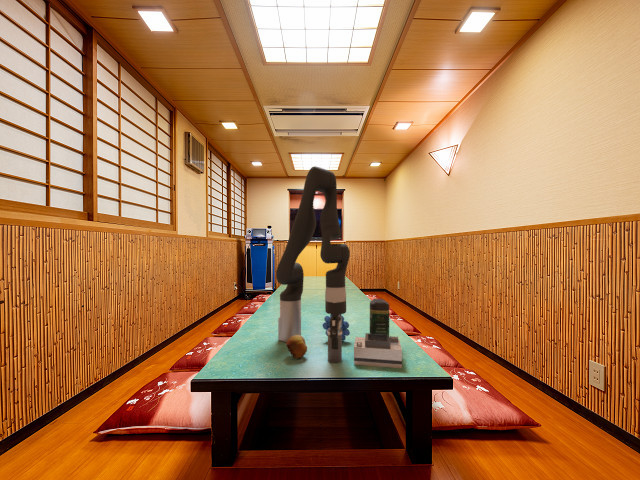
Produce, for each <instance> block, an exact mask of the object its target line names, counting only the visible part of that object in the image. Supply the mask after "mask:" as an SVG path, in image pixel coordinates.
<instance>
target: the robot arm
mask: <svg viewBox="0 0 640 480" xmlns="http://www.w3.org/2000/svg"><path fill="white" fill-rule="evenodd" d="M306 174H307V175H306V176H305V177H306V178H305V181H304V186H303V189H302V194H301V198H300V201H299V207H298V209H297V213H296V215H295V218H294V221H293V223H292V227H291V230H290V233H289V238H288V240H287V242H286V246H285V247H284V250H283V253H282V256H281V258H280V261H279V262H278V264H277V268H276V272H275V279H276V281H277V283H279V285H282V286H283V285H285V286H286V288H285V289H283V291H281V292H280V294H279V317H278V321H277V323H278V327H277V328H278V329H277V331H278V335H277V339H278V341H281V342H284V343H286V342H287V341H288V340H289V339H290V338H291V337H292V336H294V335H300V336H302V295H303V292H304V279H305V278H304V275H305V274H304V268H303V266H302V265H301V264H300V263H299V262H297V260H298V257H299V256H300V254H302V252H303V251H304V249H306V247H307V246H308V245H309V244H310V243H311V241H312V238H313V237H314V233H315V231H316V227H317V219H316V218H317V217H316V212H315V209H314V201H315V196H316V192H318V193H322V194H323V196H324V200H325V201H324V206H323V208H322V210H321V213H320V217H319V222H320V229H321V230H320V231H321V247H320V255H319V256H320V259H321V260H322V262H323V263H324V264H336V267H335V268H333V269H329V270H327V271H326V272H325V292H324V293H325V294H324V299H325V301H324V302H325V304H324V305H325V306H324V307H325V313H326V314H328V315H330V314H331V315H332V317H331V319H330V338H332V349H338V337H339V336H338V333H339V332H340V328H341V327H342V317H341V315H344V314H346V313H347V291H346V274H347V268H348V265H349V261H350V256H351V255H350V254H351V251H350V247H349V246H348V245H347V244H345V243H332V242H331V241H335V240H338V239H340V238H341V236H342V233H341V232H342V231H341V226H340V221H339V215H338V195H337V194H338V191H337V185H338V184H337V178H336V174H335V173H334V172H332V171H331V170H328V169H325V168H323V167H320V166H315V165H314V166H312V167H311V168H309V171H308V172H307V173H306ZM333 332H336V334H333Z"/></svg>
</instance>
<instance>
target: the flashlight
mask: <svg viewBox="0 0 640 480" xmlns="http://www.w3.org/2000/svg"><path fill="white" fill-rule="evenodd" d="M327 334H328V336H327V362H329V363H330V364H331V363H332V364H339V363H341V362H342V361H343V358H342V357H343V356H342V355H343V354H342V353H343V347H342V345H343V343H342V342H343V341H342V329H341V328H340V332H339V333H338V336H339V337H338V349H332V338H330V328H328V330H327ZM333 334H336V332H333Z"/></svg>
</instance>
